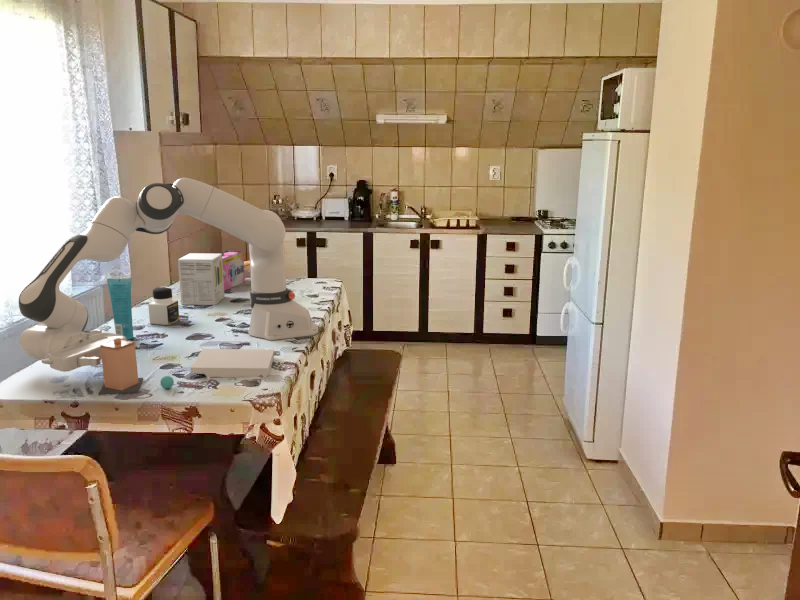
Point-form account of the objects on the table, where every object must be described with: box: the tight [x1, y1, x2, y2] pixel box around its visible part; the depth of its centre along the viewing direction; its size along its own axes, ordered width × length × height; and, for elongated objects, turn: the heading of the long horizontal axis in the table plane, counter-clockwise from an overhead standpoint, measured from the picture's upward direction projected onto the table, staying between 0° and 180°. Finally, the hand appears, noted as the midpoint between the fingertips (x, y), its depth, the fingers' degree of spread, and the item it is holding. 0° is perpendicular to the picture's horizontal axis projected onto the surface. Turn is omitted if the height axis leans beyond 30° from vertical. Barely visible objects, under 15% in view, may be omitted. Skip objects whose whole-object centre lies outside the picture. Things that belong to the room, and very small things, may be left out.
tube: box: [106, 278, 134, 341], centre depth 205 cm, size 7×5×19 cm, turn 96°
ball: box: [160, 375, 175, 390], centre depth 167 cm, size 3×3×3 cm
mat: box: [98, 377, 144, 396], centre depth 167 cm, size 9×9×1 cm
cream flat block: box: [190, 348, 275, 378], centre depth 182 cm, size 15×3×20 cm
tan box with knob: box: [100, 338, 139, 390], centre depth 166 cm, size 6×6×12 cm
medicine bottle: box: [147, 286, 180, 326], centre depth 224 cm, size 7×7×12 cm
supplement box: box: [177, 252, 226, 306], centre depth 252 cm, size 13×13×18 cm
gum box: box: [217, 249, 246, 292], centre depth 276 cm, size 24×8×14 cm, turn 167°
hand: (112, 356), depth 166 cm, fingers open, 8 cm apart
